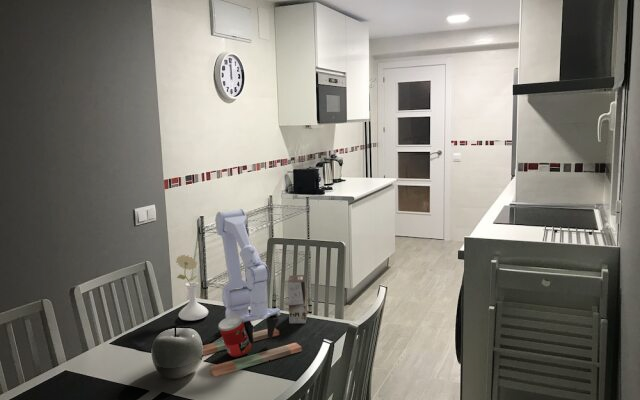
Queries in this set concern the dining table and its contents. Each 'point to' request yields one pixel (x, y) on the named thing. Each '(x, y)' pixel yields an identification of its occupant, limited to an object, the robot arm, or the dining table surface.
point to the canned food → (235, 336)
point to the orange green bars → (251, 359)
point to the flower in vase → (190, 292)
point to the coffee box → (297, 299)
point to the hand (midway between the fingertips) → (260, 339)
